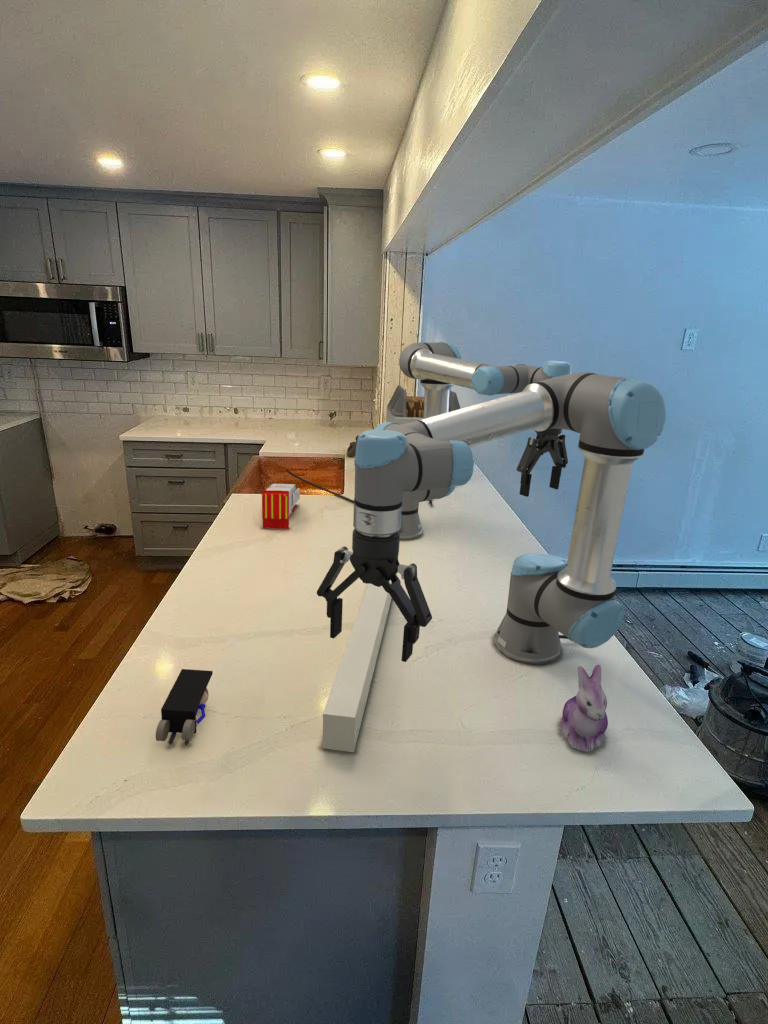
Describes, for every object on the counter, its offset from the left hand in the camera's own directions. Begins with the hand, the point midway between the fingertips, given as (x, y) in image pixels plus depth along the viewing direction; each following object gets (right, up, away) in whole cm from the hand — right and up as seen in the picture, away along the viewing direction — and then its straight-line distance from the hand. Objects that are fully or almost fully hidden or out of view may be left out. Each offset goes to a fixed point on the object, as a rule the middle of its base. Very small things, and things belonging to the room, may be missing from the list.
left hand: (539, 491), depth 164 cm
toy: (-84, -7, +47) cm, 96 cm away
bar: (-49, -38, -33) cm, 70 cm away
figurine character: (-82, -46, -59) cm, 110 cm away
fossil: (-59, +26, +142) cm, 156 cm away
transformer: (-28, +13, +111) cm, 115 cm away
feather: (-25, +1, +77) cm, 81 cm away
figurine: (-7, -49, -57) cm, 75 cm away
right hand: (-47, -29, -68) cm, 88 cm away
